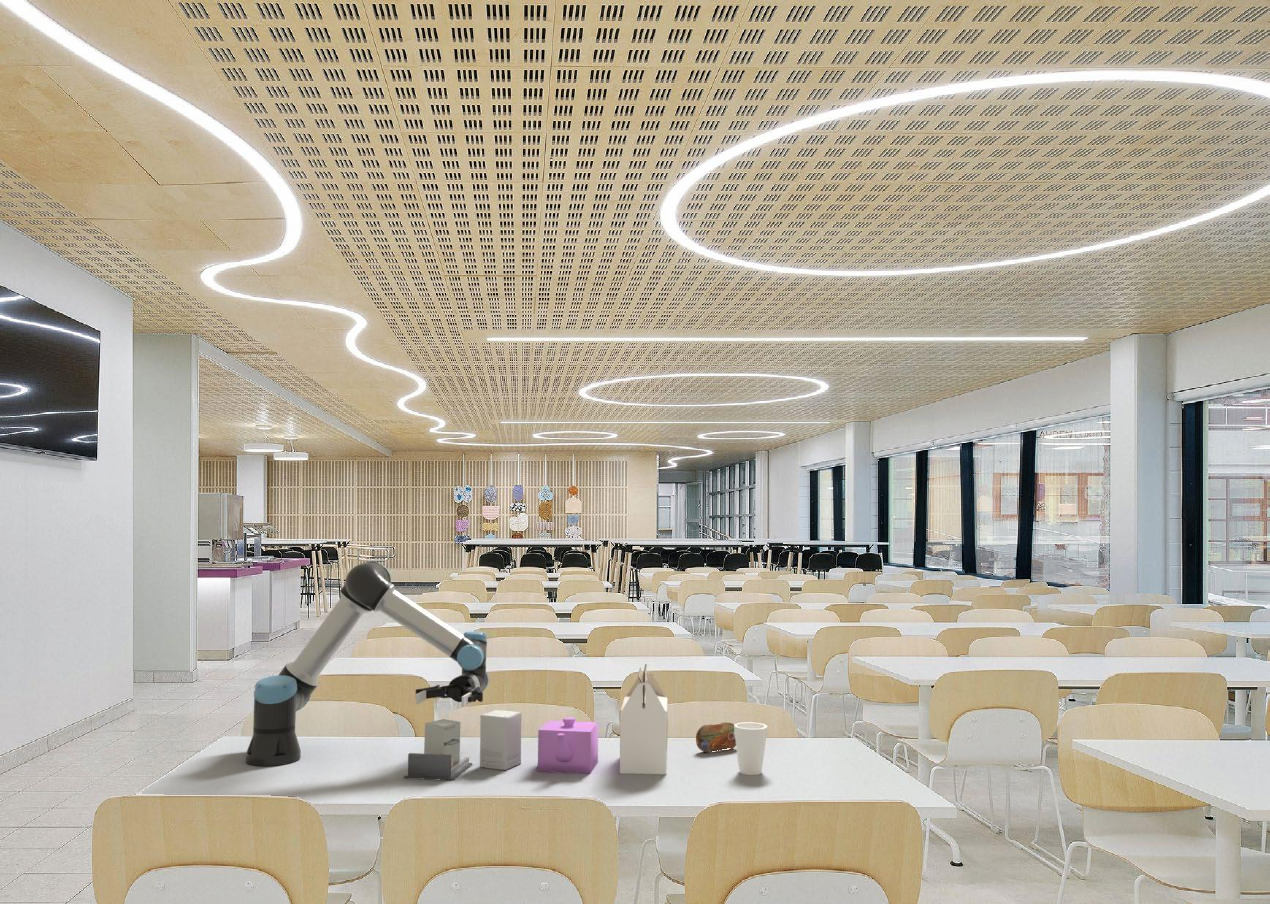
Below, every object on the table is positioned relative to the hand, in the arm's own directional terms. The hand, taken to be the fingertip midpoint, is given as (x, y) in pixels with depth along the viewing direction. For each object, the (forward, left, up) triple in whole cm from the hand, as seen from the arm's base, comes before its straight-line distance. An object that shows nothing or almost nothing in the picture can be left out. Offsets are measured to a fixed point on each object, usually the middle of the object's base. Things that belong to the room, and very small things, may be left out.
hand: (439, 700), depth 276 cm
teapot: (+35, +12, -20) cm, 42 cm away
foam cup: (+87, +17, -20) cm, 91 cm away
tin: (+76, +41, -20) cm, 89 cm away
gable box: (+56, +20, -20) cm, 63 cm away
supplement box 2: (+15, +11, -20) cm, 27 cm away
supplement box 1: (0, +4, -20) cm, 20 cm away
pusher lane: (0, +1, -20) cm, 20 cm away
